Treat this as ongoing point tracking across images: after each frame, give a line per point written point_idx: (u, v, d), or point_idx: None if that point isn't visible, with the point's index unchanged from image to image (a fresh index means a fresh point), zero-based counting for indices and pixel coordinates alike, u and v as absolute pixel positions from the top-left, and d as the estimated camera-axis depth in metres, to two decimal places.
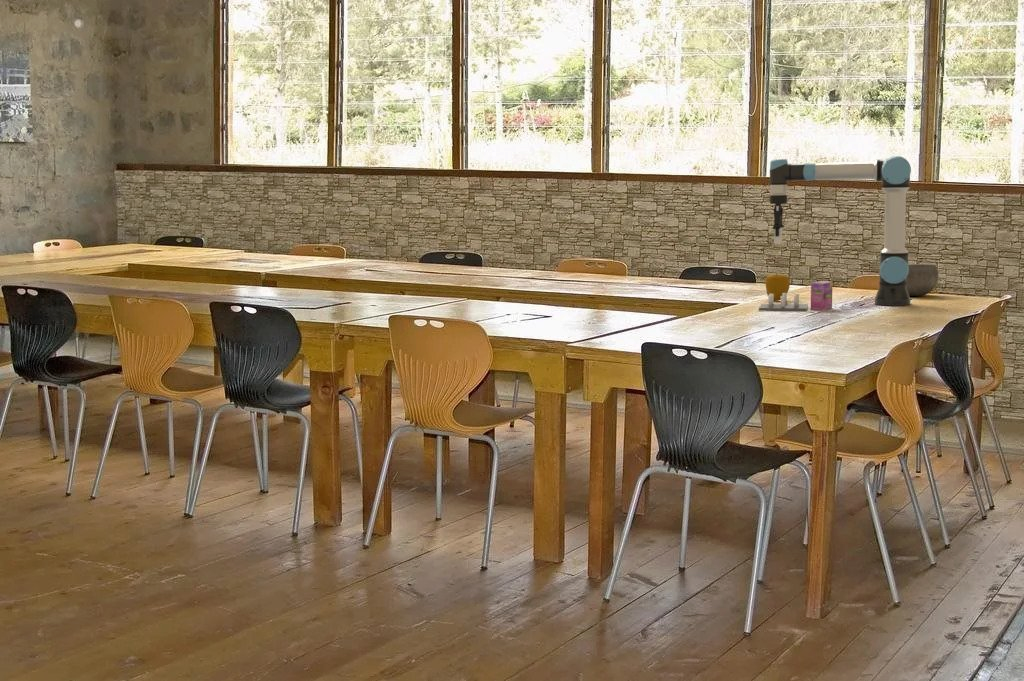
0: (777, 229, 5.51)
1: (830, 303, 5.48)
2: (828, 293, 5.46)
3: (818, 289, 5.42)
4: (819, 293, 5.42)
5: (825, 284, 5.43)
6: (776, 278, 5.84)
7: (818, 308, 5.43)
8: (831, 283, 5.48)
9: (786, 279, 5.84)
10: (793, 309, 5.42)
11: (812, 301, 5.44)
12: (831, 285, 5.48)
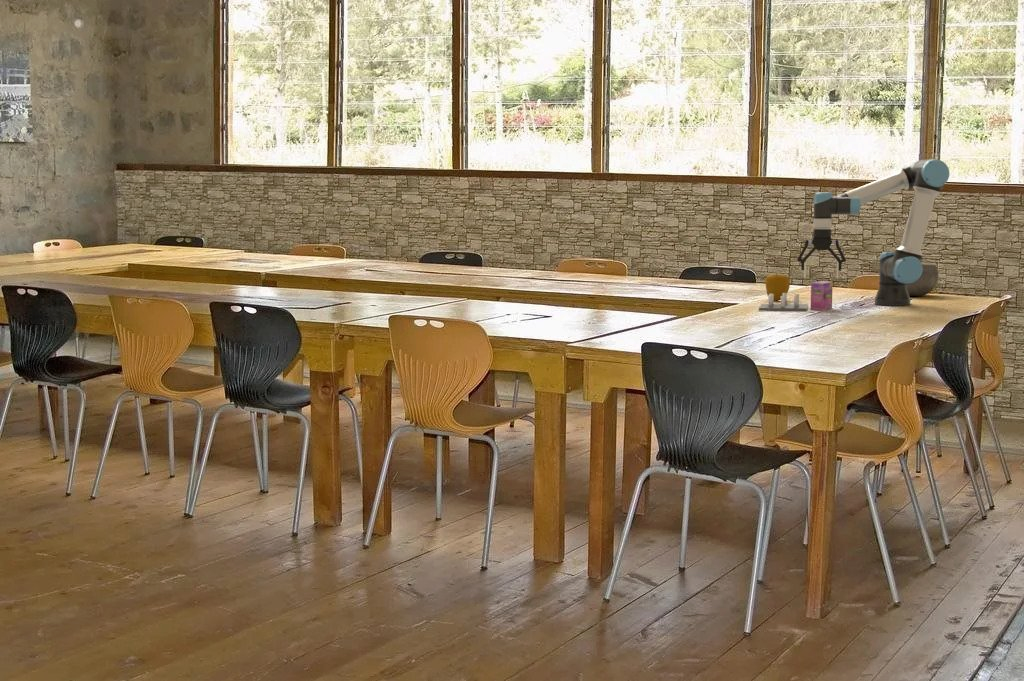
0: None
1: (830, 303, 5.48)
2: (828, 293, 5.46)
3: (818, 289, 5.42)
4: (819, 293, 5.42)
5: (825, 284, 5.43)
6: (776, 278, 5.84)
7: (818, 308, 5.43)
8: (831, 283, 5.48)
9: (786, 279, 5.84)
10: (793, 309, 5.42)
11: (812, 301, 5.44)
12: (831, 285, 5.48)
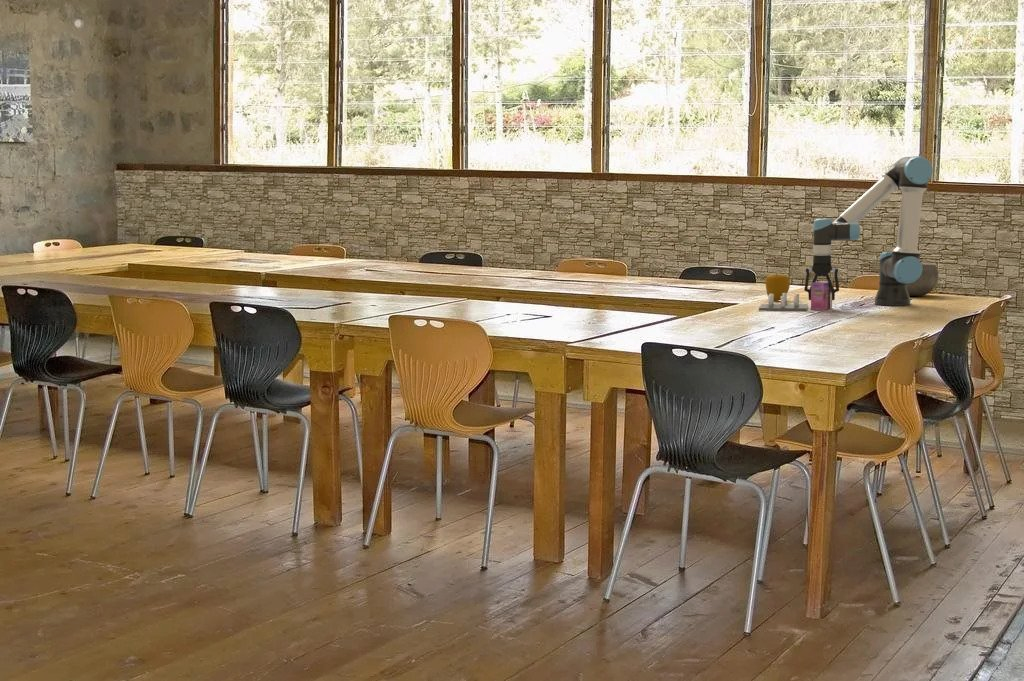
0: None
1: None
2: (828, 292, 5.46)
3: (818, 288, 5.42)
4: (819, 293, 5.42)
5: (825, 284, 5.43)
6: (776, 278, 5.84)
7: (818, 308, 5.43)
8: None
9: (786, 279, 5.84)
10: (793, 309, 5.42)
11: (812, 301, 5.44)
12: None
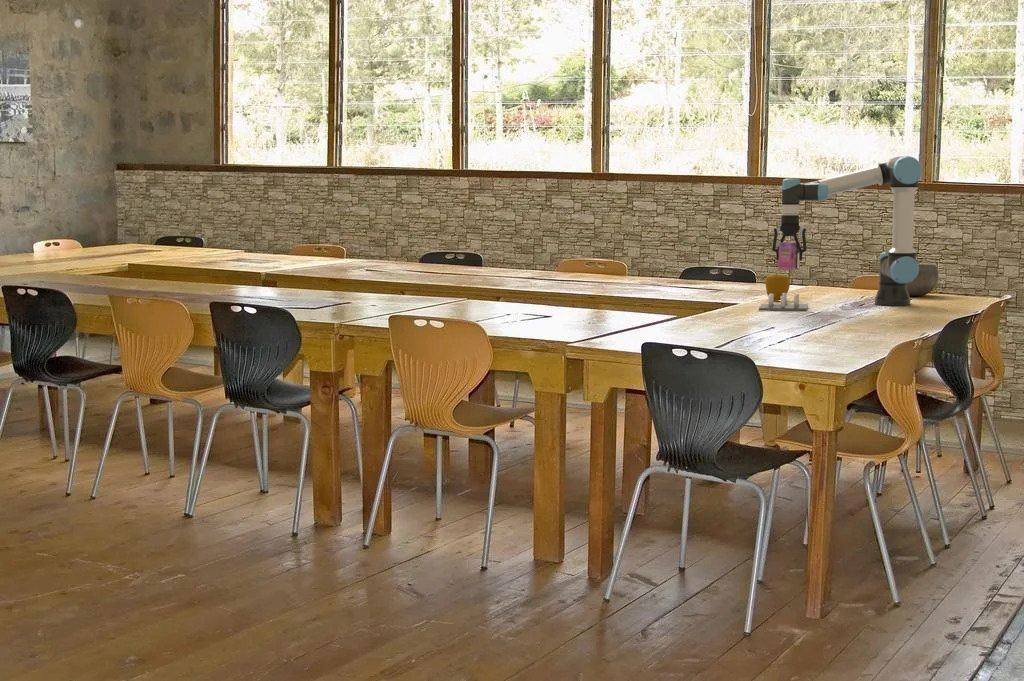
0: (776, 253, 5.49)
1: None
2: (796, 252, 5.47)
3: (786, 248, 5.43)
4: (786, 252, 5.43)
5: (793, 244, 5.44)
6: (776, 278, 5.84)
7: (786, 267, 5.44)
8: None
9: (786, 279, 5.84)
10: (793, 309, 5.42)
11: (780, 261, 5.45)
12: None
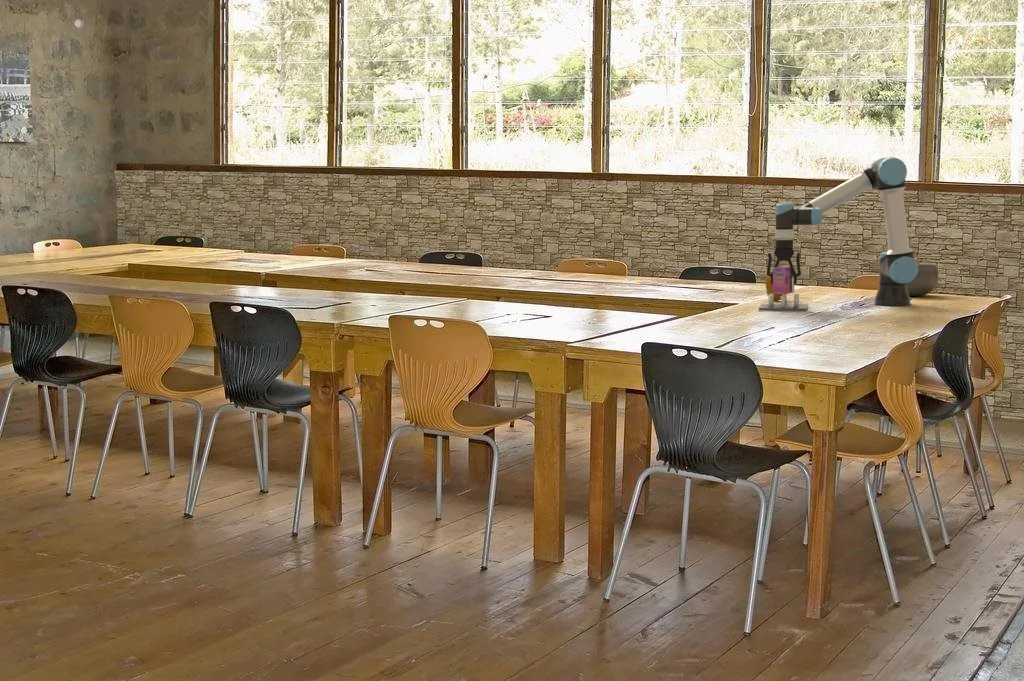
0: None
1: None
2: (790, 277, 5.49)
3: (780, 273, 5.45)
4: (781, 277, 5.45)
5: (787, 268, 5.46)
6: None
7: (780, 292, 5.46)
8: None
9: None
10: (793, 309, 5.42)
11: (774, 285, 5.48)
12: None
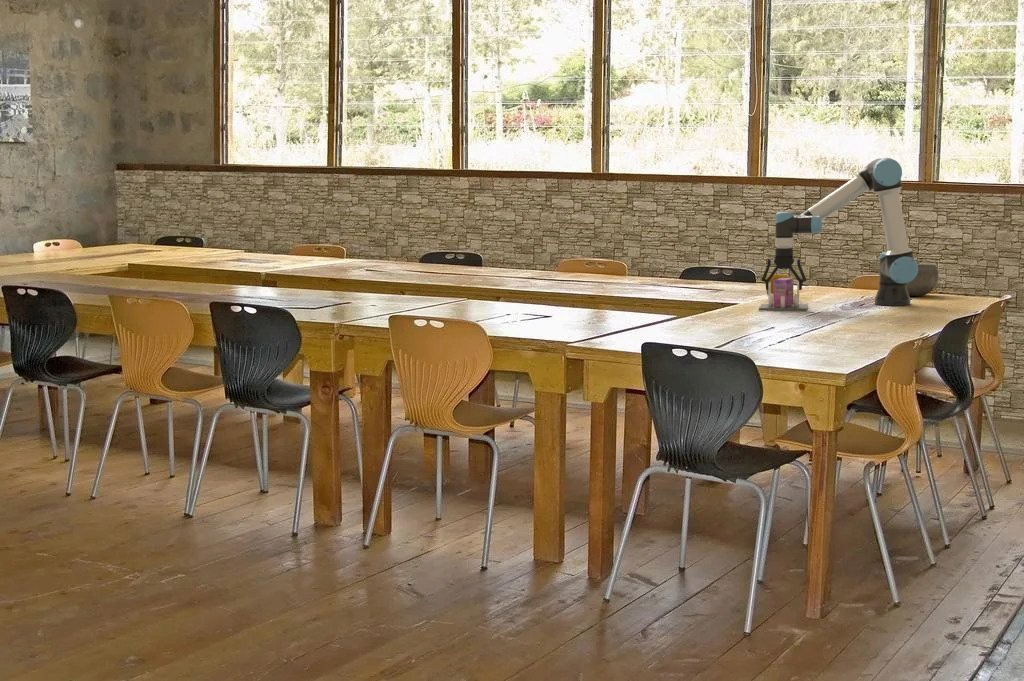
0: None
1: (792, 299, 5.53)
2: (790, 289, 5.50)
3: (781, 285, 5.46)
4: (782, 289, 5.46)
5: (787, 280, 5.47)
6: (776, 278, 5.84)
7: None
8: (792, 279, 5.52)
9: None
10: (793, 309, 5.42)
11: (775, 298, 5.48)
12: (792, 281, 5.52)
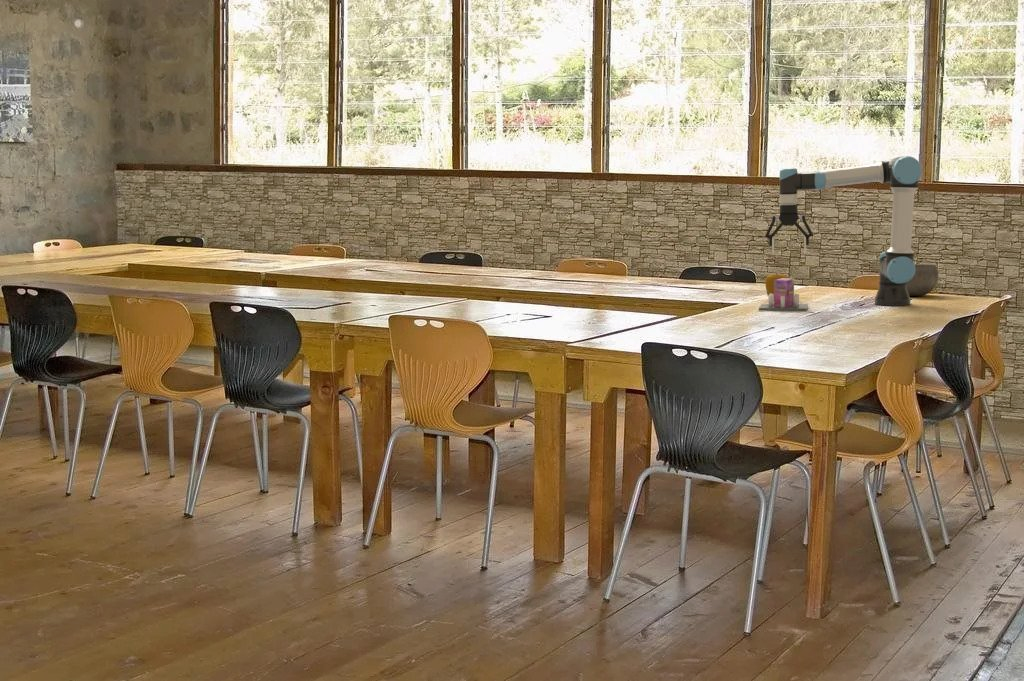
0: (769, 239, 5.53)
1: (792, 300, 5.53)
2: (791, 289, 5.50)
3: (781, 286, 5.46)
4: (782, 290, 5.46)
5: (788, 281, 5.47)
6: (776, 278, 5.84)
7: None
8: (793, 280, 5.52)
9: None
10: (793, 309, 5.42)
11: (775, 298, 5.48)
12: (793, 282, 5.52)
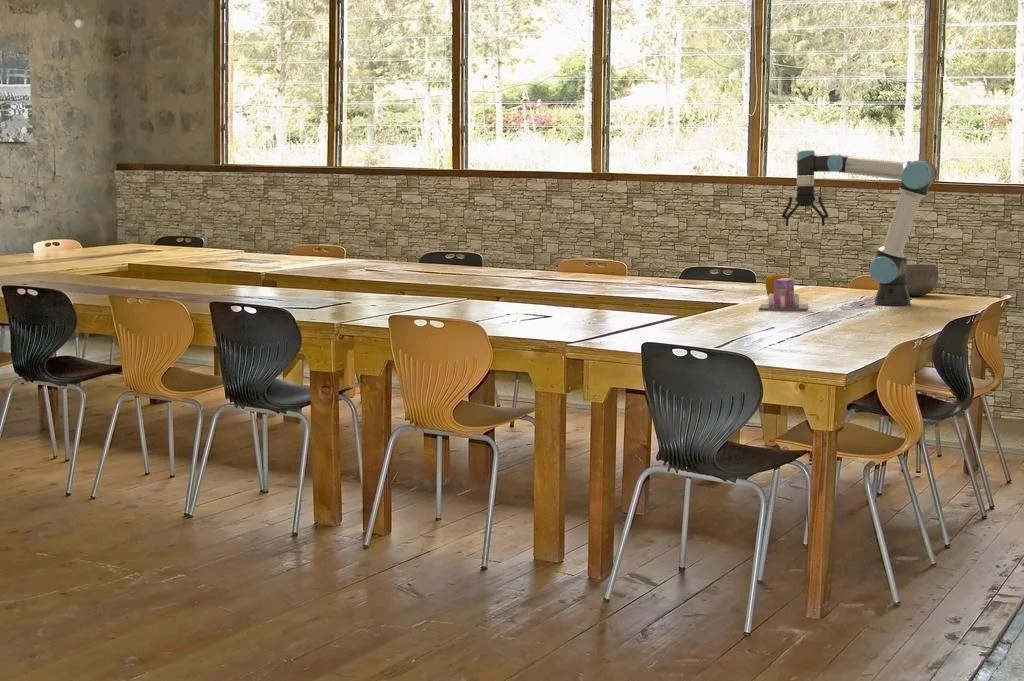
0: None
1: (792, 300, 5.53)
2: (791, 289, 5.50)
3: (781, 286, 5.46)
4: (782, 290, 5.46)
5: (788, 281, 5.47)
6: (776, 278, 5.84)
7: None
8: (793, 280, 5.52)
9: None
10: (793, 309, 5.42)
11: (775, 298, 5.48)
12: (793, 282, 5.52)
